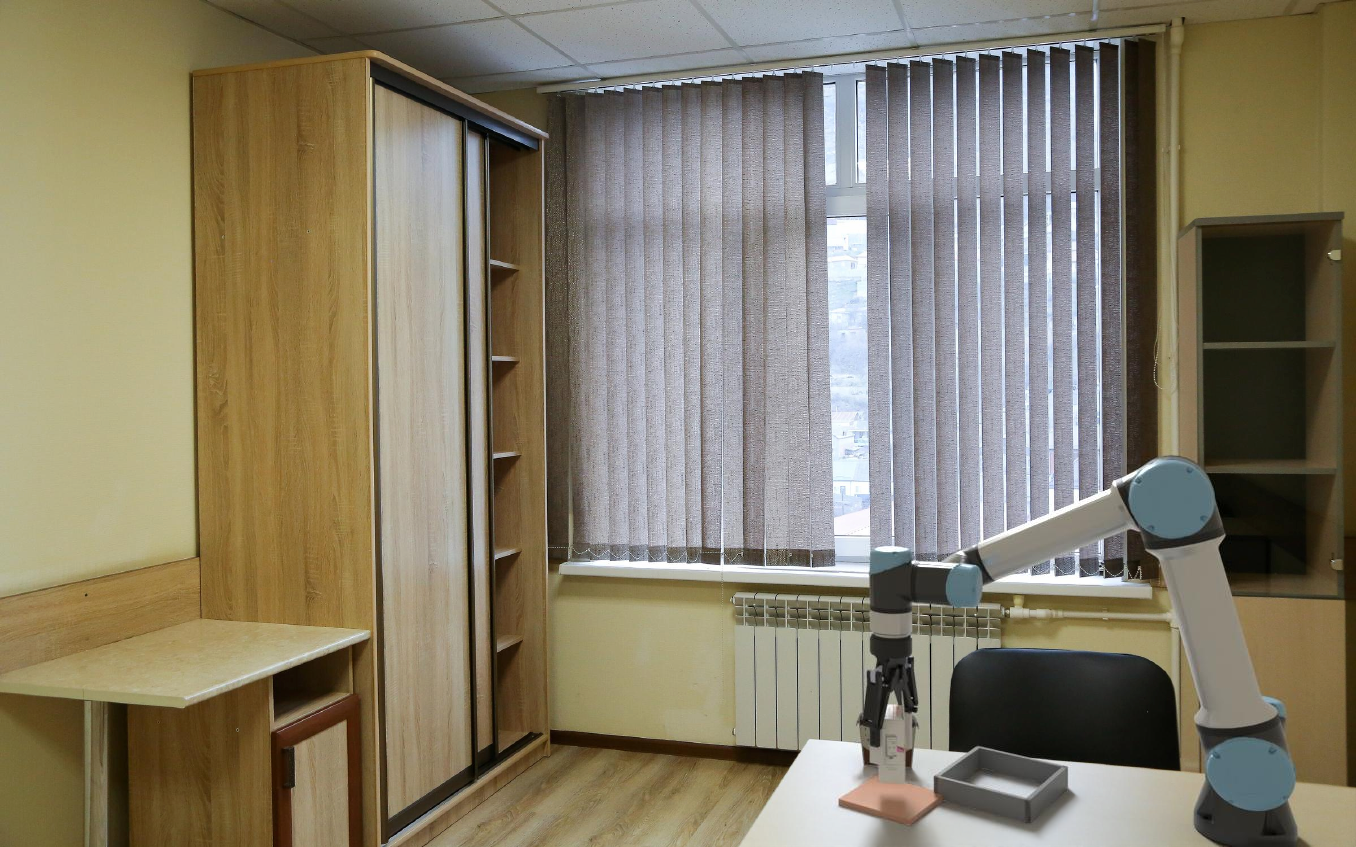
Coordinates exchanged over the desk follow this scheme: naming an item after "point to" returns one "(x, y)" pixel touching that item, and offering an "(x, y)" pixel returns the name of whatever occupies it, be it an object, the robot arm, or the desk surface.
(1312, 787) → the desk surface
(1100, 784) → the desk surface
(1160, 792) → the desk surface
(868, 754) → the food container
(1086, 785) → the desk surface
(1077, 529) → the robot arm
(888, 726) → the ink cartridge box
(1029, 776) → the parts bin
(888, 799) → the terracotta tile
